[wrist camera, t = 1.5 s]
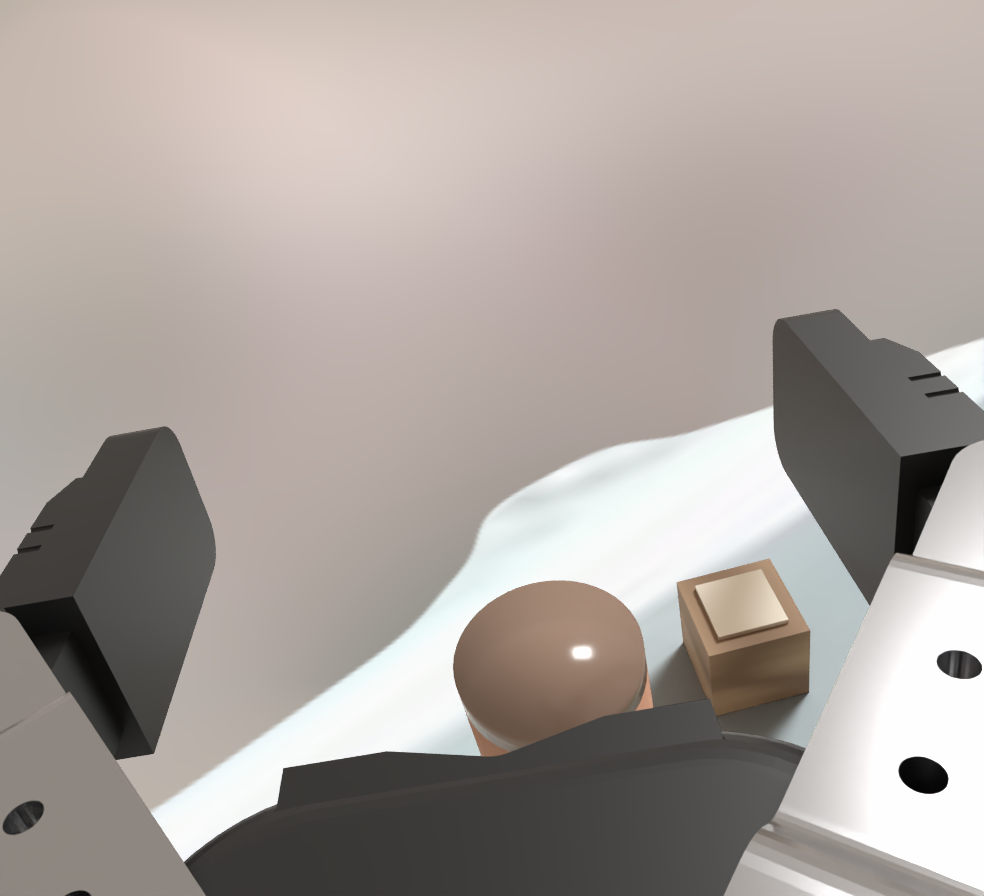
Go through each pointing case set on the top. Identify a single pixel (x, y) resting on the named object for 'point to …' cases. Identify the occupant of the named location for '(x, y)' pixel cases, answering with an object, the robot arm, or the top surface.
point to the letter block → (744, 637)
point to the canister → (548, 664)
